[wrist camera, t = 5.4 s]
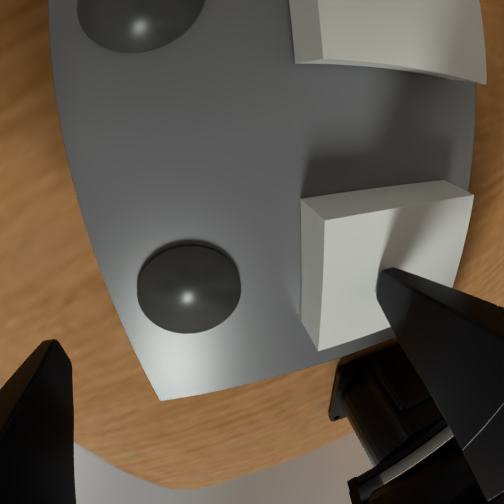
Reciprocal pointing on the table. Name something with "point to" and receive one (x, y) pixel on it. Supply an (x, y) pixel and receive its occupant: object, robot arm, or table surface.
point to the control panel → (228, 171)
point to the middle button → (393, 35)
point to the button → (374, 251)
